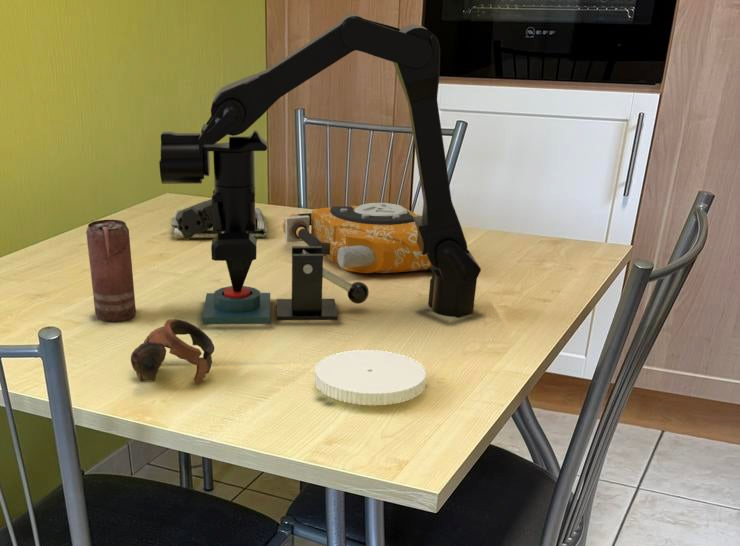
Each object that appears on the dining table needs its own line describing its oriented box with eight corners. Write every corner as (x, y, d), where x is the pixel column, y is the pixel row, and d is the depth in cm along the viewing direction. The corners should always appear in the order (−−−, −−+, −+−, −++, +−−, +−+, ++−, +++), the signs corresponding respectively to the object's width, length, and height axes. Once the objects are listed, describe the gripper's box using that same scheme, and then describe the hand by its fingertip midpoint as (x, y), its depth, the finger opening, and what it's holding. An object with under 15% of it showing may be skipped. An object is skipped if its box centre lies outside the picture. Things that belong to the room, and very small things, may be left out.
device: (329, 240, 146) (275, 197, 170) (328, 291, 150) (275, 242, 175) (459, 228, 151) (388, 188, 175) (454, 278, 155) (386, 232, 180)
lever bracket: (334, 305, 144) (336, 243, 139) (337, 324, 137) (339, 258, 132) (276, 306, 144) (276, 243, 139) (276, 324, 137) (276, 258, 132)
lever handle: (360, 303, 141) (371, 285, 140) (361, 310, 139) (373, 292, 137) (293, 264, 138) (304, 245, 137) (293, 270, 136) (305, 251, 134)
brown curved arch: (158, 359, 127) (186, 310, 123) (205, 403, 125) (234, 355, 121) (101, 367, 117) (128, 314, 113) (150, 415, 115) (180, 362, 111)
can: (98, 325, 137) (88, 231, 130) (93, 311, 143) (83, 219, 135) (139, 321, 139) (131, 227, 131) (132, 308, 144) (124, 216, 137)
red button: (250, 297, 141) (250, 286, 140) (250, 306, 138) (250, 295, 137) (224, 297, 141) (224, 286, 140) (223, 306, 138) (223, 295, 137)
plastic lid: (413, 366, 123) (415, 348, 122) (434, 411, 112) (436, 392, 110) (309, 368, 123) (309, 350, 122) (319, 414, 111) (320, 395, 110)
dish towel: (262, 215, 192) (262, 199, 190) (268, 239, 177) (268, 222, 175) (173, 217, 191) (172, 201, 189) (171, 241, 176) (170, 224, 174)
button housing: (270, 303, 145) (270, 281, 144) (270, 328, 136) (270, 305, 134) (207, 303, 146) (206, 281, 144) (202, 328, 136) (201, 305, 134)
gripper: (183, 169, 139) (188, 272, 147) (171, 199, 123) (178, 312, 131) (257, 169, 138) (258, 271, 147) (255, 198, 123) (256, 311, 131)
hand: (237, 290), depth 139 cm, fingers closed, pressing on red button
